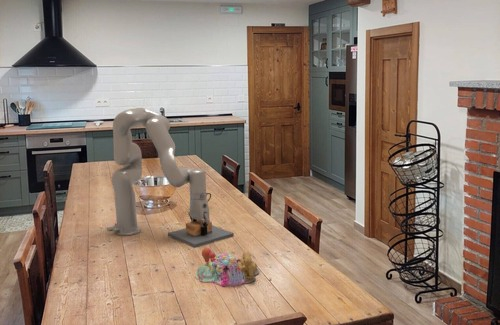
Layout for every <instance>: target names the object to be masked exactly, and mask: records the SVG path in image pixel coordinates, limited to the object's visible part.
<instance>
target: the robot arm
mask: <svg viewBox="0 0 500 325" xmlns="http://www.w3.org/2000/svg"><path fill="white" fill-rule="evenodd" d="M137 127H144V128H145V130H146V133H147V135H148V136H149V138H150V140H151V142H152V143H153V146H154V147H155V149H156V151H157V153H158V157H159V164H160V168H161V170H162V173H163V174H164V177H165V178H166V180H167V182H168V184H170V185H171V186H172V187H173V188H181V187H182V186H184V185H187V184H189V185H188V186H189V212H188V216H189V218H190V222H194V221H200V223H201V226H202V227H201V235H206V234H207V226H208V224H209V222H211V220H210V208H209V201H208V198H206V192H207V180H206V179H207V178H206V177H207V176H206V175H207V174H206V171H205V170H204V169H203V168H192V167H191V168H190V167H183V166H182V167H180V168H179V166H178V165H177V163H176V159H175V151H176V144H175V142H174V140H173V139H172V137H171V135H170V133H169V130H170V129H171V123H170V120H169V119H168V118H167V117H166V116H164V115H162V114H160V113H158V112H154V111H153V110H149V109H148V108H144V107H136V108H135V107H134V108H130V109H125V110H123V111H121V112H120V113H118V114H117V115H116V116H115V117H114V119H113V122H112V133H113V134H112V135H113V138H112V139H113V159H114V162H115V164H117V165H119V166H122V167H120V168H118V169H116V170H115V171H114V172H113V173H112V175H111V184H112V189H113V193H114V195H113V196H114V203H115V204H114V206H115V216H116V218H115V219H116V222H115V223H114V225H112V226H109V227H107V228H106V229H107V232H108V233H109V232H113V233H114V234H115V235H116V236H124V237H125V236H132V235H136V234H139V233H140V232H141V230H142V229H141V227H140V226H138V217H137V202H136V201H137V200H136V194H135V193H136V192H135V190H134V186H133V185H134V184H136V183H138V182H139V181H140V180H141V178H142V173H143V162H142V160H143V156H142V149H141V147H140V146H139V145H138V144H137V143H136V142H133V136H132V135H133V134H132V131H131V130H132V129H133V128H137ZM203 219H204V220H203ZM203 221H204V224H203Z"/></svg>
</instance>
